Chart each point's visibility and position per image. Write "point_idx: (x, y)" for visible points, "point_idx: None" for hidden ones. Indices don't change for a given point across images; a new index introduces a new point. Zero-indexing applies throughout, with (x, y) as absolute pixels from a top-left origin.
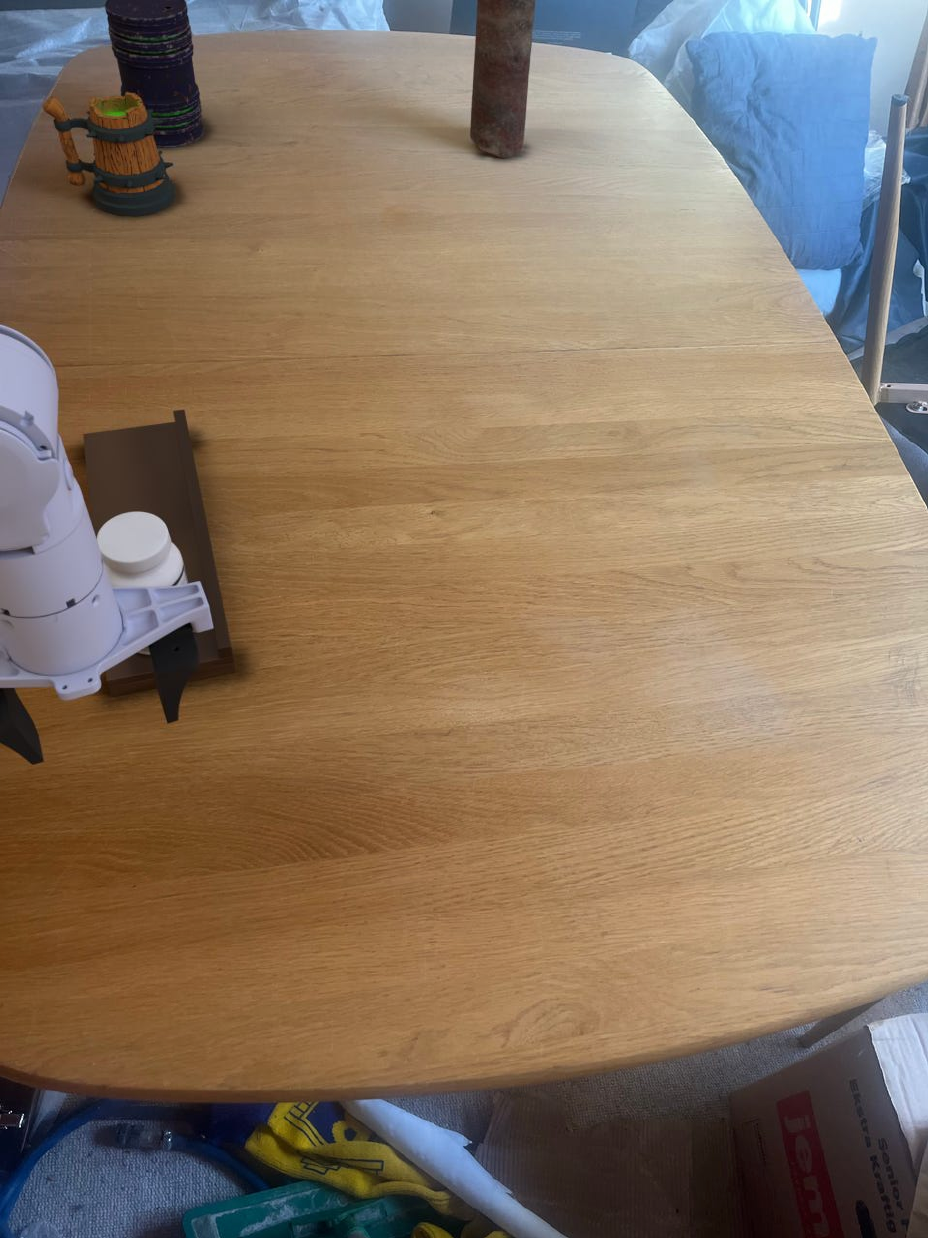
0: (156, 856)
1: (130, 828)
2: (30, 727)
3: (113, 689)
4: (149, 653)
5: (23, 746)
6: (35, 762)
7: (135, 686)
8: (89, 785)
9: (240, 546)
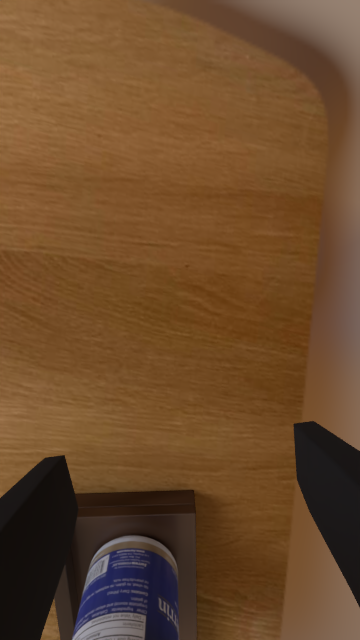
0: (161, 296)
1: (186, 336)
2: (323, 504)
3: (190, 499)
4: (144, 539)
5: (354, 466)
6: (310, 424)
7: (167, 498)
8: (224, 395)
9: (49, 634)
